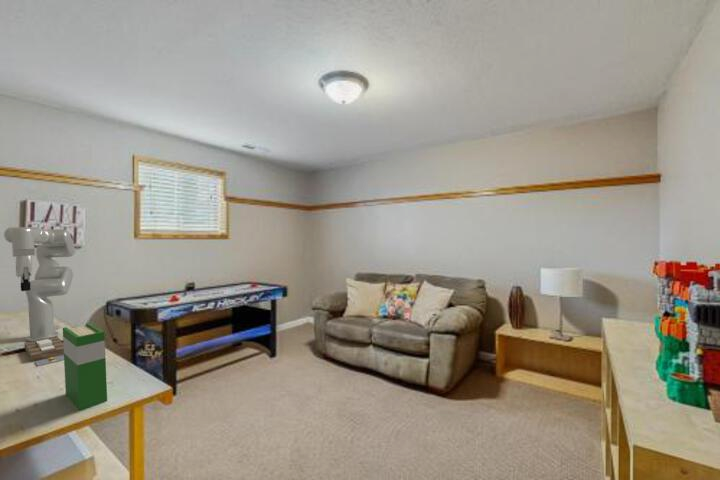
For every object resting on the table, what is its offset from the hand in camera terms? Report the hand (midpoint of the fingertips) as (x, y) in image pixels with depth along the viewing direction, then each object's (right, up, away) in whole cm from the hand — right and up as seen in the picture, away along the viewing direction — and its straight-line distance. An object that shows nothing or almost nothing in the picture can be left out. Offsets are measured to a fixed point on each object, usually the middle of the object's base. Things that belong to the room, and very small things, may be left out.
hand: (25, 290), depth 161 cm
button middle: (+11, -27, -2) cm, 29 cm away
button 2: (+17, -28, -7) cm, 33 cm away
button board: (+11, -29, -2) cm, 31 cm away
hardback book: (+68, -31, -46) cm, 87 cm away
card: (+25, -29, -14) cm, 41 cm away
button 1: (+6, -28, +2) cm, 28 cm away
